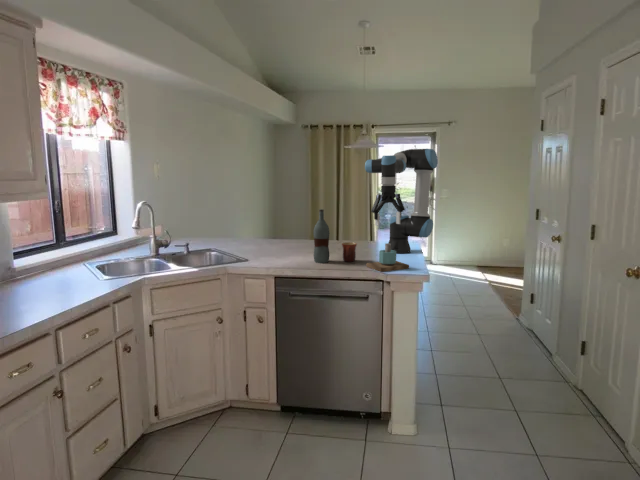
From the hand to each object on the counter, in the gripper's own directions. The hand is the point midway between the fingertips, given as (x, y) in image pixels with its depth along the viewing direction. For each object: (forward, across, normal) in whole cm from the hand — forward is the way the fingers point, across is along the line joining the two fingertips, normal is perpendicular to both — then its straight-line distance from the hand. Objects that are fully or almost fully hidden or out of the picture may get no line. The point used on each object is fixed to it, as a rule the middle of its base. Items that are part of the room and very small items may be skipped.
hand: (387, 224), depth 243 cm
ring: (+20, +2, +2) cm, 20 cm away
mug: (+23, +12, -21) cm, 33 cm away
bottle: (+23, +26, -28) cm, 45 cm away
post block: (+23, +2, +2) cm, 23 cm away
